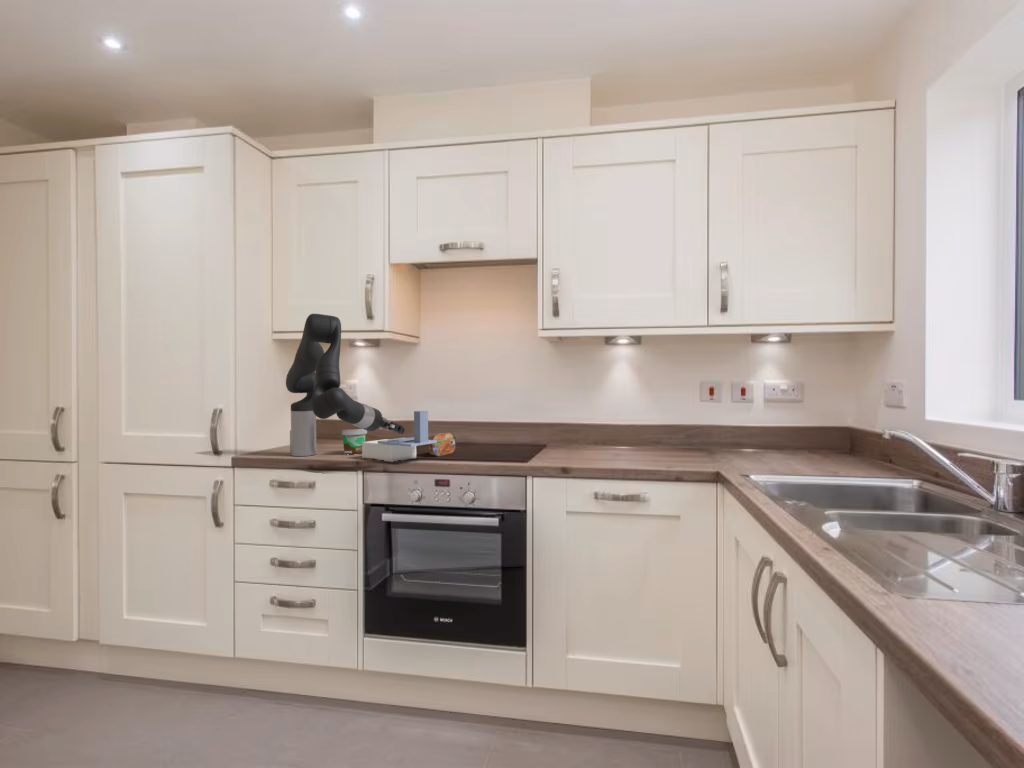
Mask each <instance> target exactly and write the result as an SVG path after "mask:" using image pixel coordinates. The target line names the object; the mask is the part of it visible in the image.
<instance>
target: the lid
mask: <svg viewBox="0 0 1024 768" xmlns="http://www.w3.org/2000/svg"><path fill="white" fill-rule="evenodd" d="M388 439H389V440H383V439H380V440H381V441H378V443H381V444H390V445H400V446H410V447H412V446H416V447H417V446H424V445H425V446H426V445H428V444H432V443H437V440H429V411H428V410H414V411H413V436H412V437H398V438H388Z"/></svg>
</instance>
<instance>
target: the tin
mask: <svg viewBox="0 0 1024 768" xmlns="http://www.w3.org/2000/svg"><path fill="white" fill-rule="evenodd" d="M428 440H437V443H432V444H427V448H428V452H429V454H430V455H432V457H433V456H435V457H442V456H446V455H451V454H453V453H454V451H455V450H456V447H457V439H456V436H455V434H454V433H453V432H450V431H449V432H443V433H441V432H440V433H436V434H435V433H434V434H432V435H431V436H430V437H428Z"/></svg>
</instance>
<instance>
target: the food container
mask: <svg viewBox="0 0 1024 768" xmlns="http://www.w3.org/2000/svg"><path fill="white" fill-rule="evenodd" d="M366 434H368V431H367V430H365V429H362V428H359V427H358V429H357V428H356V429H353V428H352V429H342V430H341V436H342V440H343V443H342V444H343V455H344V454H346V455H345V456H355V455H354V454H359V455H362V442H366ZM347 454H349V455H347Z"/></svg>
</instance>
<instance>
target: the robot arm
mask: <svg viewBox="0 0 1024 768" xmlns="http://www.w3.org/2000/svg"><path fill="white" fill-rule="evenodd" d="M341 340H342V322H341V319H340V318H339V317H337V316H334V315H329V314H322V313H321V314H320V313H311V314H309V315H308V316H307V317H306V320H305V323H304V327H303V332H302V337H301V340H300V343H299V345H298V348H297V350H296V353H295V356H294V359H293V362H292V364H291V366H290V368H289V370H288V372H287V374H286V376H285V377H286V379H285V386H286V389H287V391H289V393H292V394H306V395H305V397H303V398H301V399H300V400H297V401H294V402H292V403H291V404H290V430H289V455H290V456H293V457H306V456H307V457H309V456H315V455H317V418H318V419H321V420H325V419H329V418H331V417H332V416H334V415H336V417H338V419H339V420H341V421H342V422H346V423H348V424H350V425H353V426H355V427H357V428H358V429H359V428H362V429H365V430H367V432H373V431H376V430H378V429H379V430H385V431H387V432H394V433H398V434H399V435H400V434H401V435H403V434H405V430H406V429H405V427H404V426H403V425H401V424H398V423H396V422H394V421H393V420H390V419H387V418H386V417H383V415H382V412H381V411H380V410H379V409H377V408H375V407H373V406H370V405H368V404H367V403H366V404H365V403H361V402H358V401H356V400H354V399H353V398H352V397H351V396H350V395H349V394H347V393H346V391H345V390H344V389H343V388H340V386H341V374H340V373H341V372H340V355H341V344H342V341H341ZM320 343H321V344H322V343H323V344H330V345H329V347H328V349H326V351H325V350H324V348H323V346H322V345H321V344H320Z"/></svg>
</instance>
